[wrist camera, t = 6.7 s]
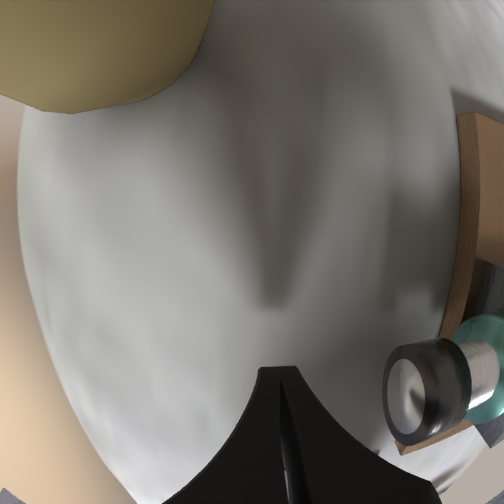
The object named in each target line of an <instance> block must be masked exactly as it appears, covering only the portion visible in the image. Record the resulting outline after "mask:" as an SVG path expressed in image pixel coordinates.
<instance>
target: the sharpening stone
mask: <svg viewBox="0 0 504 504" xmlns="http://www.w3.org/2000/svg"><path fill="white" fill-rule="evenodd" d="M456 117H457V125H458V134H459V146H460V163H461V205H460V223H459V235H458V244H457V253H456V260H455V267H454V273H453V279H452V284H451V289H450V294H449V299H448V303H447V308H446V312H445V316H444V320H443V324H442V327H441V331H440V334H439V338H441V337H442V338H447V339H450V340H451V341H452V338H453V336H454V334H455V333H456V331H457V329H458V328H459V327H460V326H461V325H462V324H463V323H464V322H465V321H466V320H468V319H469V318H472V317H475V316H478V315H482V314H485V313H489V312H492V311H496V310H504V124H502V123H500V122H497V121H495V120H493V119H491V118H488V117H486V116H483V115H481V114H478V113H476V112H473V113H468V114H464V115H460V116H456ZM472 425H474V426H475V427H476V428H477V430H478V431H479V433H480V434H481V436H482V437H483V439H484V440H485V442H486V443H487V444H488V446H489V447H490V448H492V447H493V446H495V445H496V444H498V443H499V442H501V441H502V440H503V439H504V413H502V414H501V415H499V416H498V417H496V418H495V419H493V420H491V421H489V422H487V423H483V424H474V423H471V422H468V421H467V420H465V419H464V418H463V420H462V421H461V423H460V424H459V425H458V426H457V427H455V428H454V429H452V430H450V431H448V432H446V433H444V434H441V435H439V436H437V437H434V438H432V439H429V440H427V441H424V442H421V443H419V444H416V445H413V446H404V445H402V444H400V443H399V442H398V441H397V440H396V441H395V444H396V446H397V448H398V451H399V453H400V455H401V456H402V455H405V454H408V453H411V452H413V451H416V450H419V449H422V448H424V447H427V446H429V445H432V444H434V443H437V442H439V441H441V440H443V439H446V438H448V437H450V436H452V435H454V434H456V433H459V432H461V431H463V430H465V429H467V428H468V427H470V426H472Z"/></svg>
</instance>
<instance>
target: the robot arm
mask: <svg viewBox="0 0 504 504" xmlns="http://www.w3.org/2000/svg"><path fill="white" fill-rule="evenodd" d="M281 446H282V447H281ZM282 451H283V456H282ZM283 457H284V462H285V468H286V470H284V464H283ZM0 504H25V503H24V502H22V501H21V500H20V499H18V498H17V497H15V496H14V495H13V494H12V493H10V492H9V491H8V490H6V489H5V488H3V489H2V490H1V492H0ZM162 504H442V502H441V500H440V498H439V495H438V493H437V491H436V489H435V488H434V487H433V485H432V483H431V482H430V481H428V480H425V479H422V478H420V477H417V476H415V475H413V474H410V473H408V472H406V471H404V470H402V469H400V468H398V467H396V466H394V465H392V464H391V463H389V462H387V461H386V460H384V459H383V458H381V457H380V456H378V455H376V454H375V453H373V452H372V451H370V450H369V449H368V448H366V447H365V446H364V445H362V444H361V443H360V442H359V441H357V440H356V439H355V438H354V437H353V436H351V435H350V434H349V433H348V432H347V431H346V430H345V429H344V428H343V427H342V426H341V425H340V424H339V423H338V422H337V421H336V420H335V419H334V418H333V417H332V416H331V415H330V413H329V412H328V411H327V410H326V409H325V408H324V406H323V405H322V404H321V403H320V401H319V400H318V399H317V397H316V396H315V395H314V393H313V392H312V391H311V389H310V388H309V386H308V385H307V383H306V382H305V380H304V378H303V377H302V375H301V373H300V371H299V369H298V368H297V367H296V366H278V367H261V368H259V369H258V376H257V380H256V384H255V387H254V390H253V392H252V395H251V397H250V399H249V402H248V404H247V406H246V408H245V410H244V412H243V414H242V416H241V418H240V420H239V422H238V423H237V425H236V427H235V428H234V430H233V432H232V433H231V435H230V436H229V438H228V439H227V441H226V442H225V443H224V445H223V446H222V447H221V449H220V450H219V451H218V452H217V454H216V455H215V456H214V457H213V459H212V460H211V461H210V462H209V463H208V464H207V465H206V466H205V468H204V469H203V470H202V471H201V472H199V473H198V474H197V475H196V476H195V477H194V478H193V479H192V480H191V481H190V482H189V483H188V484H187V485H186V486H185V487H183V488H182V489H181V490H180V491H178V492H177V493H176V494H174V495H173V496H172V497H170V498H169V499H168V500H166V501H165V502H164V503H162ZM486 504H504V490H503V491H502V492H501V493H500V494H498V495H497V496H496V497H494V498H493V499H492V500H490V501H489V502H487V503H486Z"/></svg>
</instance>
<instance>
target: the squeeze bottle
mask: <svg viewBox="0 0 504 504" xmlns="http://www.w3.org/2000/svg"><path fill="white" fill-rule="evenodd" d="M214 3H215V0H0V95H3V96H5V97H8V98H11V99H13V100H16V101H19V102H21V103H24V104H26V105H29V106H31V107H33V108H36V109H38V110H41V111H43V112H56V113H66V114H76V113H80V112H85V111H90V110H95V109H100V108H106V107H112V106H118V105H124V104H128V103H131V102H135V101H139V100H143V99H147V98H149V97H151V96H152V95H154V94H156V93H157V92H159V91H160V90H162V89H164V88H166V87H167V86H169V85H171V84H172V83H173V82H174V81H175V80H176V79H177V78H178V77H179V76H180V75H181V73H182V72H183V71H184V70H185V69H186V68H187V67H188V66H189V65H190V64H191V63H192V60H193V58H194V56H195V54H196V52H197V50H198V47H199V45H200V43H201V41H202V37H203V34H204V31H205V28H206V25H207V22H208V19H209V16H210V14H211V11H212V8H213V5H214Z"/></svg>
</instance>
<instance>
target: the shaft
mask: <svg viewBox="0 0 504 504" xmlns="http://www.w3.org/2000/svg"><path fill="white" fill-rule="evenodd" d="M382 398H383V408H384V413H385V418H386V421H387V424H388V427H389V429H390V431H391V433H392V435H393V437H394V438H395V439H396V440H397V441H398V442H399V443H400V444H402V445H404V446H413V445H416V444H419V443H421V442H424V441H427V440H429V439H432V438H434V437H437V436H439V435H441V434H444V433H446V432H448V431H450V430H452V429H454V428H455V427H457V426H458V425H459V424H460V423H461V421H462V420H463V418H464V419H465V420H467V421H468V422H471V423H474V424H483V423H487V422H489V421H491V420H493V419H495V418H496V417H498V416H499V415H501V414H502V413H504V310H496V311H492V312H489V313H485V314H482V315H478V316H475V317H472V318H469V319H468V320H466V321H465V322H464V323H463V324H462V325H461V326H460V327H459V328H458V329H457V331H456V333H455V334H454V336H453V338H452V341H451V340H450V339H447V338H442V337H441V338H435V339H431V340H427V341H422V342H418V343H413V344H408V345H403V346H399V347H397V348H396V349H395V350H394V351H393V352H392V353H391V354H390V356H389V358H388V360H387V363H386V366H385V370H384V375H383V385H382Z"/></svg>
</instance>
